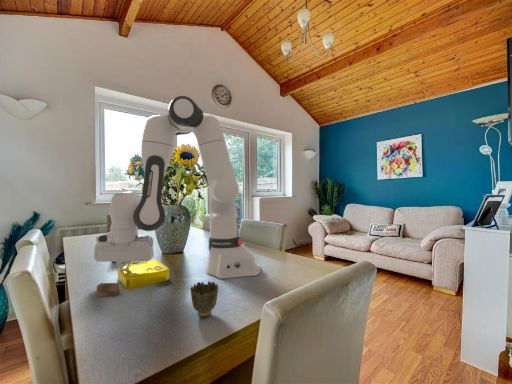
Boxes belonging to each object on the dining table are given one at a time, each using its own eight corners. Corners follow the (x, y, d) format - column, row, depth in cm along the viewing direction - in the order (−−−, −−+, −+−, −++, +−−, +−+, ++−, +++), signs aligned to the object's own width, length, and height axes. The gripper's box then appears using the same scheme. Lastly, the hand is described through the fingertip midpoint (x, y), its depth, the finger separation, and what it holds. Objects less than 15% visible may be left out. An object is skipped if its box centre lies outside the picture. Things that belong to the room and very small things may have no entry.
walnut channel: (147, 269, 103) (147, 261, 102) (116, 296, 78) (116, 285, 78) (133, 269, 102) (133, 261, 102) (96, 296, 77) (96, 285, 77)
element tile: (156, 269, 103) (156, 258, 103) (170, 280, 92) (170, 267, 91) (116, 278, 93) (116, 266, 93) (126, 291, 82) (126, 277, 82)
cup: (219, 308, 70) (219, 280, 70) (216, 322, 63) (216, 292, 63) (193, 308, 70) (193, 281, 70) (187, 323, 63) (187, 292, 62)
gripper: (156, 233, 93) (156, 269, 93) (101, 233, 92) (101, 270, 93) (149, 237, 87) (150, 275, 87) (90, 237, 86) (91, 276, 86)
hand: (124, 272), depth 90 cm, fingers closed
